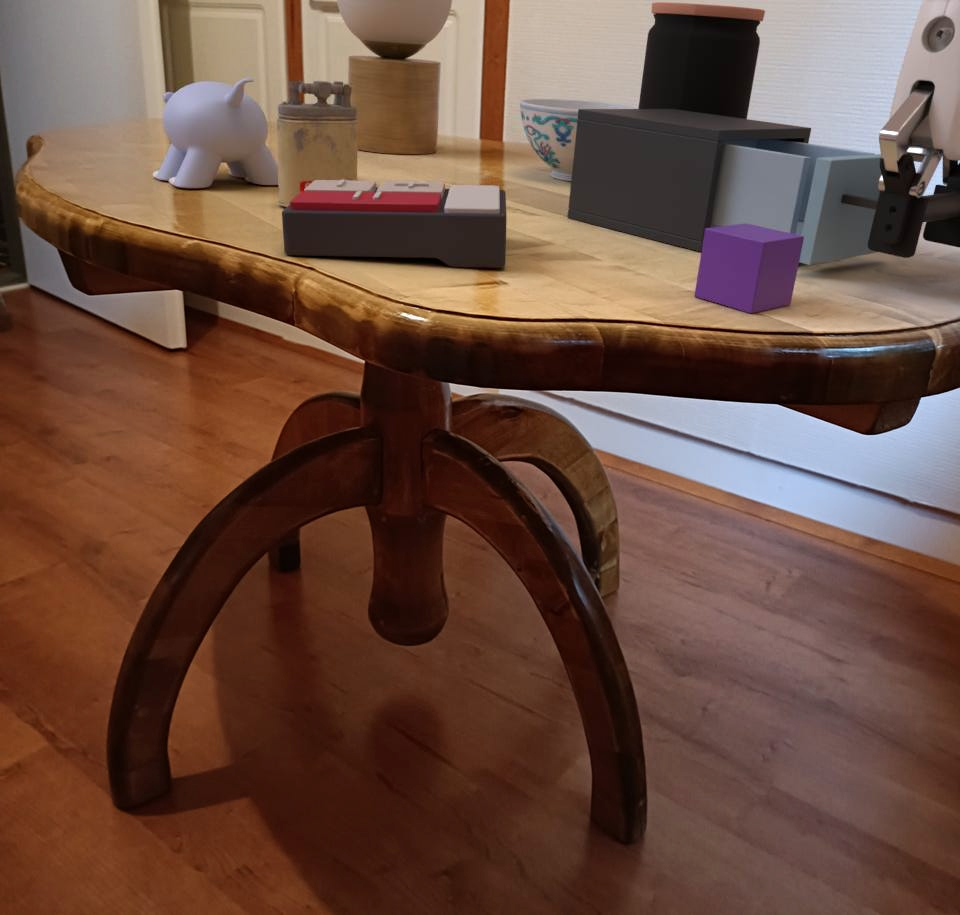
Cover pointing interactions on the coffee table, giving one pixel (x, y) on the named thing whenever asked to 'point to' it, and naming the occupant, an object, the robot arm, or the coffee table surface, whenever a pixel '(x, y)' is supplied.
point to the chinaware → (557, 129)
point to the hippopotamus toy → (215, 136)
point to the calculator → (399, 221)
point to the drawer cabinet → (656, 169)
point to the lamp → (395, 73)
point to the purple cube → (748, 267)
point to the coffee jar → (701, 58)
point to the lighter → (315, 138)
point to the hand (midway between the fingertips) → (918, 246)
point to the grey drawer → (808, 195)
